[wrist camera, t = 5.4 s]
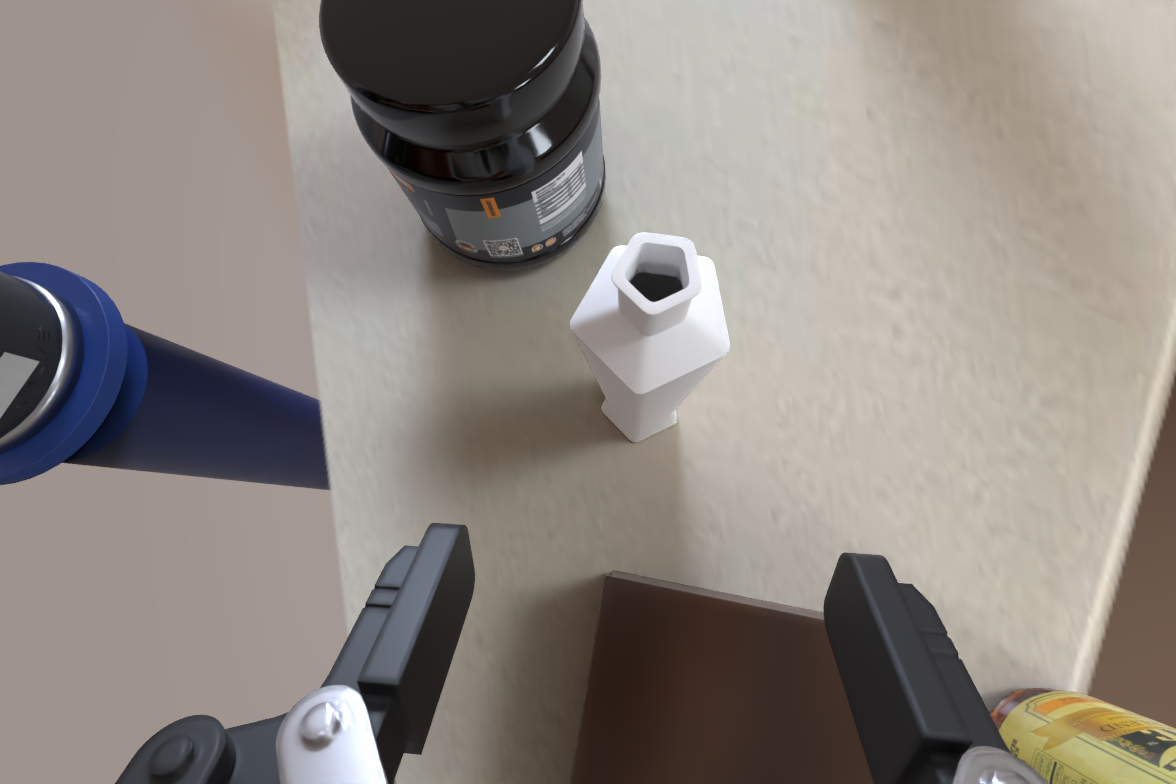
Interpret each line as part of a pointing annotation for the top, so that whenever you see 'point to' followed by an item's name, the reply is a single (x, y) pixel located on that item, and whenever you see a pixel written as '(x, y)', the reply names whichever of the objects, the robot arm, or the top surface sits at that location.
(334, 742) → the robot arm
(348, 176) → the top surface
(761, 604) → the box
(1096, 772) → the sauce bottle
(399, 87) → the supplement container
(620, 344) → the white faceted vase
